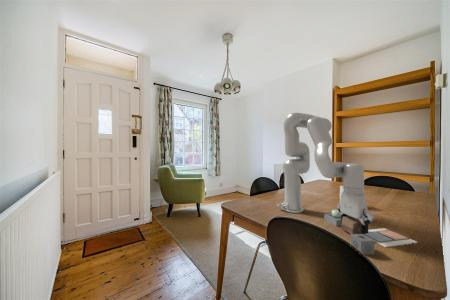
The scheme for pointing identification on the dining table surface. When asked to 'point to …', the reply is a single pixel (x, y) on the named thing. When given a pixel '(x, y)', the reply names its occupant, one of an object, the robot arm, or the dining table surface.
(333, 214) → the button
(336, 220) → the button housing
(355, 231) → the walnut block
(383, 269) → the dining table surface
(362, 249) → the dice cube
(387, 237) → the picture card
